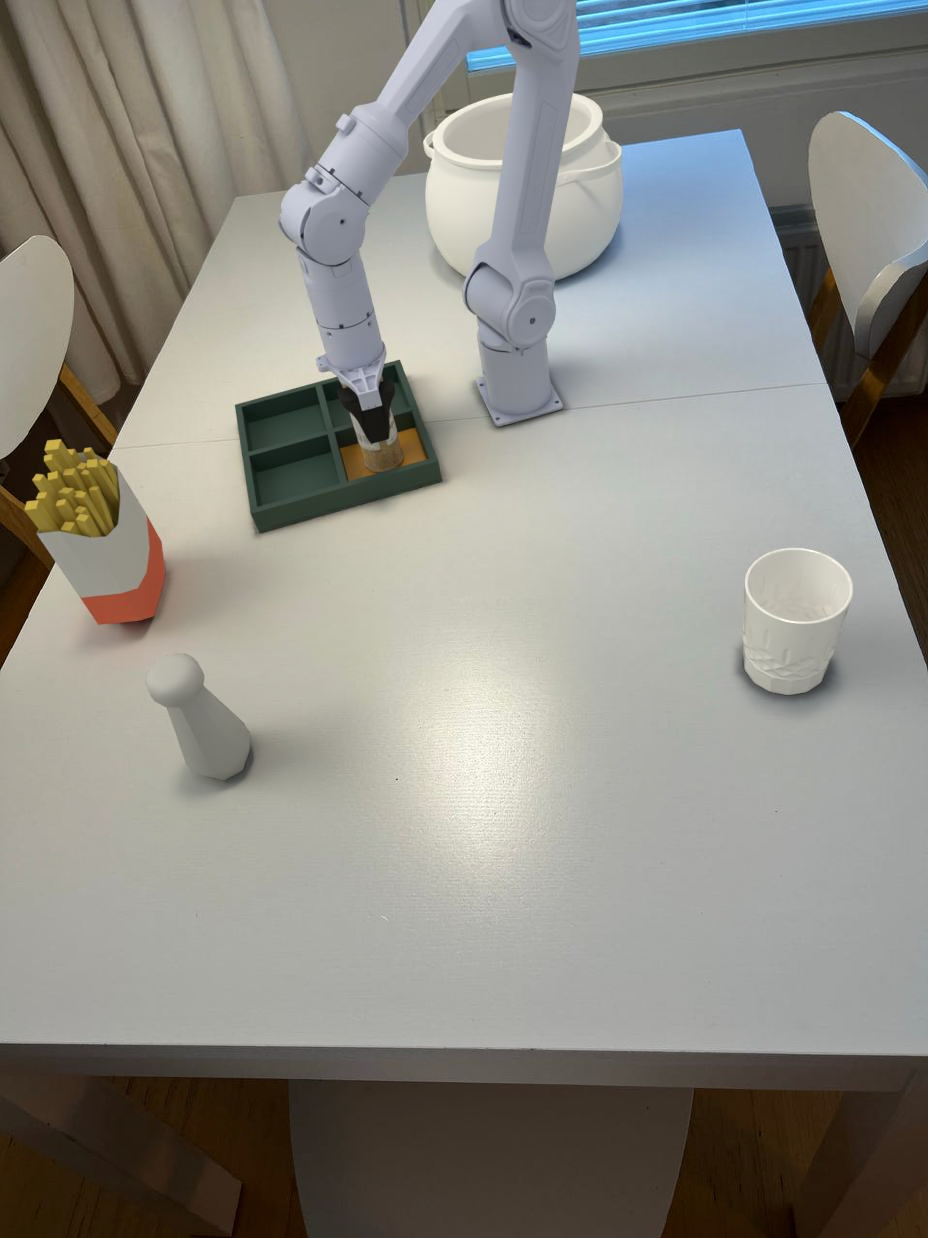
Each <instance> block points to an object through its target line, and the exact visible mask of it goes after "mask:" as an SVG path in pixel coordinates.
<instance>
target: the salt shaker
mask: <svg viewBox="0 0 928 1238" xmlns="http://www.w3.org/2000/svg"><path fill="white" fill-rule="evenodd" d="M200 665H201V664H199V662H198V661H197V660H196V658H195V657H193V656H191V655H189V654H188V653H185V652H174V653H171V654H167V655H164V656H162V657H160V658H159V659H158V660H157V661H154V662H153V664H152V665H151V666H150V668H149V670H147V672H146V676H145V682H144V683H145V686H146V688H147V691H148V693H149V696H150V697H151V699H152V700H153V701H154V702H155V703H156V704H159V705H160V706H162V707H164V708H166V710H167V713H168V716H169V719H170V722H171V724H172V727H173V729H174V733H175V736H176V738H177V741H178V746H179V749H180V752H181V754H182V758H183V760H184V763H185V764H186V766H187V768H188V769H189V770H190V771H192V772H193V773H196V774H197V775H199V776H200V777H206V778H211V779H215V780H216V779H217V780H220V781H224V782H225V781H226V780H228V779H230V778H232V777H234V776H235V775H237V774H240V773H241V772H243V771H244V770H245V766H246V763H247V760H248V757H249V754H250V750H251V749H250V748H251V737H252V736H251V732H250V730H249V728H248V727H247V725H246V723H245V722H244V721H243V720H242V719H241V718H240V717H239V716H238V715H236V714H235V712H233V711H232V710H231V709H230V708H229V707H228V706H227V705H226V704H225V703H223V702H222V701H221V700H220V699H219V698H218V697H217V696H216V695H215V694H213V692H212V691H211V690H210V689H208V688H207V687H206V686H205V685H204V683H205V674H204V671H203V669H202V667H201V666H200Z"/></svg>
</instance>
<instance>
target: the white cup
mask: <svg viewBox="0 0 928 1238" xmlns="http://www.w3.org/2000/svg"><path fill="white" fill-rule="evenodd" d="M852 579H853V578H851V575H850V573H849V572H848V571H847V569H846V568H845V566H843V565H842V564H841V563H840V562H839V561H838V560H836V559H835V558H833V557H831V556H830V555H827V554H826V553H824V552H821V551H818V550H814V549H811V548H810V549H809V548H806V547H805V548H803V547H786V548H780V549H775V550H772V551H769V552H766V553H765V554H763V555H761V556H759V557H758V558H757V559H756V560H754V561H753V563H751V565H749V568H748V570H747V571H746V574H745V577H744V590H743V593H744V594H743V610H742V645H743V649H742V657H743V659H742V660H743V667H744V669H743V670H744V671H745V672H746V674H747V675H748V676H749V678H750V679H751V681H752V682H753V683H754V684H755V685H757V686H759V687H761V688H763V689H764V690H766V691H768V692H769V693H772V694H773V693H774V694H779V695H784V696H785V695H786V696H792V695H793V696H794V695H797V694H803V693H807V692H809V691H811V690H812V689H814V688H815V687H817V686H818V685H820V684H821V682H822V681H823V678H824V676H825V675H826V672H827V670H828V667H829V664H830V661H831V659H832V658H833V656H834V653H835V650H836V647H837V645H838V643H839V639H840V636H841V634H842V630H843V628H844V624H845V621H846V618H847V616H848V615H847V614H848V611H849V608H850V605H851V602H852V600H853V595H854V582H853V580H852Z"/></svg>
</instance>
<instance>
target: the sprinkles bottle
mask: <svg viewBox="0 0 928 1238" xmlns="http://www.w3.org/2000/svg"><path fill="white" fill-rule="evenodd" d="M338 379H339V378H338ZM339 381H340V382H341V384H342V386H343V388H346V387H348V386H347V385H346V384H345V383H344V382H343V381H341V380H340V379H339ZM381 381H383V377H382V374H381V378H380V382H381ZM350 415H351V419H352V422H353V425H354V429H355V432H356V435H357V438H358V442H359V444H360V446H361V450H362V452H363V456H364V464H365V466H366V468H367V469H369V470H370V471H373V472H376V473H380V472H384V471H387V470H391V469H394V468H397V467H398V466H399V465H400V464H401V463H402V461H403V458H404V453H403V451H402V449H401V446H400V442H399V438H398V435H397V429H396V425H395V421H394V418H393V414H392V410H391V407H390V415H389V418H390V435H389V439H388V440H384V441H381V442H377V443H373V444H371V443H370V442H369V441H368V439H367V438H366V436H365V434H364V432H363V430H362V428H361V426H360V425H359V423H358V421H357V420H356V418H355V417H354V416H353V415H352V414H351V413H350Z"/></svg>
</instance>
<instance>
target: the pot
mask: <svg viewBox="0 0 928 1238" xmlns="http://www.w3.org/2000/svg"><path fill="white" fill-rule="evenodd" d="M512 96H513V92H509V93H505V94H504V93H503V94H499V95H495V96H491V97H488V98H485V99H482V100H479V101H475V102H474V103H470V104H468V105H466V106H464V107H462V108H460V109H458V110H456V111H454V112H453V113H452V114H450V115H448V116H447V117H446V118H445V119H444V120H442V121H441V122H440V123H439V124H438V126H437V127H436V128H435V129H434V130H432V131H430V133H428V134H427V135H426V136H425V137H424V139H423V143H422V145H423V150H424V153H425V155H426V156H427V157H428V158H430V159H431V161H430V166H429V169H428V173H427V176H426V179H425V192H424V199H425V200H424V201H425V211H426V212H425V213H426V219H427V223H428V229H429V233H430V235H431V237H432V239H433V241H434V244H435V245H436V247H437V249H438V251H439V253H440V254H441V256H442V258H443V259H444V260H445V261H446V263H447V264H449V266H450V267H452V268H453V269H454V270H455V271H456V272H458V273H459V274H460V275H462V276H463V277H465V278H466V277H467V275H468V273H469V272H470V270H471V268H472V266H473V263H474V259H475V252H476V249H477V248H478V247H479V246H480V245H482V244H483V243H485V242H486V241H487V240H489V239H490V238H491V233H492V227H493V220H494V214H495V207H496V201H497V194H498V188H499V181H500V174H501V168H502V161H503V155H504V148H505V142H506V135H507V129H508V122H509V116H510V109H511V103H512ZM603 115H604V114H603V111H602V108H601V106H600V105H599V104H598V103H597V102H595V101H594V100H593V99H591V98H588V97H587V96H585V95H582V94H579V93H575V92H573V96H572V101H571V106H570V112H569V117H568V122H567V127H566V133H565V138H564V143H563V148H562V154H561V159H560V164H559V170H558V175H557V180H556V185H555V191H554V196H553V201H552V206H551V212H550V217H549V222H548V228H547V233H546V238H545V243H544V251H545V254H546V256H547V258H548V261H549V263H550V265H551V268H552V270H553V273H554V275H555V281H559V280H561V279H565V278H567V277H569V276H572V275H574V274H576V273H578V272H580V271H582V270H584V269H585V268H587V267H588V266H590V265H591V264H592V263H594V262H595V261H596V260H597V259H598V258H599V257H600V256H601V255H602V254H603V252H604V251H605V250H606V248H607V247H609V245H610V243H611V242H612V241H613V237H614V236H615V233H616V230H617V228H618V227H619V223H620V221H621V217H622V211H623V208H624V175H623V168H622V164H623V163H622V162H623V149H622V147H621V145H620V144H619V143H617V142H616V141H613V140H611V138H610V136H609V134H608V133H607V131H606V130H605V129H604V128H603V119H604V117H603ZM431 144H432V146H433V148H432V147H430V145H431Z"/></svg>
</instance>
